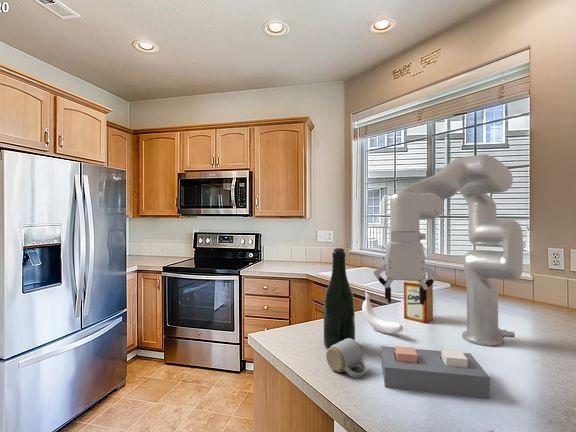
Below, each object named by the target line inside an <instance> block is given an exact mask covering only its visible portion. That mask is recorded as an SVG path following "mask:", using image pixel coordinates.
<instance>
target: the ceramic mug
mask: <svg viewBox="0 0 576 432" xmlns="http://www.w3.org/2000/svg"><path fill="white" fill-rule="evenodd" d="M325 356H326V361H327V364H328V366H329V367H330V369H331V370H332V371H334V372H336V373H343V372H346V373H347V374H348V375H350V377H352V378H356V379H358V378H362V377H364V376H365V373H366V371H367V370H366V366H365V363H364V361H363V356H364V355H363V350H362V348H361V346H360V345H359V343H358V342H357V341H356V339H355V340H353V339H351V338H347V339H344V340H343V341H340V342H338V343H336V344H334V345H332V346H331V347H330V348H329V349H328V348H327V350H326V355H325ZM357 366H360V368H361V370H362V372H355V371H354V370H352V369H353V368H356V367H357Z"/></svg>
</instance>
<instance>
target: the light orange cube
mask: <svg viewBox="0 0 576 432" xmlns="http://www.w3.org/2000/svg"><path fill="white" fill-rule="evenodd" d="M394 347H395V360H396V362H407V363H417V353H416V351H415V349H416V348H415V347H410V346H399V345H398V346H397V345H395V346H394Z"/></svg>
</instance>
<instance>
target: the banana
mask: <svg viewBox="0 0 576 432" xmlns="http://www.w3.org/2000/svg"><path fill="white" fill-rule="evenodd" d="M364 294H365V300H364V301H363V302H362V305H361V306H362V309H361V310H362V313H363V316H364V318H365V320H366V322H367V323H368V324H369V325H370V327H372V328H373V329H375V331H378V332H380V333H382V334H387V335H389V334H390V335H391V334H398V333H401V332H402V331H403V329H404V327H403V325H402V324H401V323H399V322H396V321H386V320H382V319H381V318H379V317H378V316H377V315H376V313H375V312H374V309H373V306H372V303H371V301H370V298H371V295H370V294H369V293H368V291H365V293H364Z"/></svg>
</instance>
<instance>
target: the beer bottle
mask: <svg viewBox="0 0 576 432" xmlns="http://www.w3.org/2000/svg"><path fill="white" fill-rule="evenodd" d="M331 257H332V269H331V276H330V279H329V283H328V284H327V285H328V286H327V288H326V291H325V294H324V303H323V345H324V347H325V348H326V349H327V350H328V349H329V348H330V347H331V346H332V345H334V344H336V343H338V342H340V341H343V340H344V339H347V338H351V339H353V340H355V341H356V320H355V319H356V316H355V299H354V294H353V290H352V288H351V286H350V282H349V280H348V277H347V269H346V252H345V249H344V248H342V247H341V248H340V247H336V248H333V251H332V255H331Z"/></svg>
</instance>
